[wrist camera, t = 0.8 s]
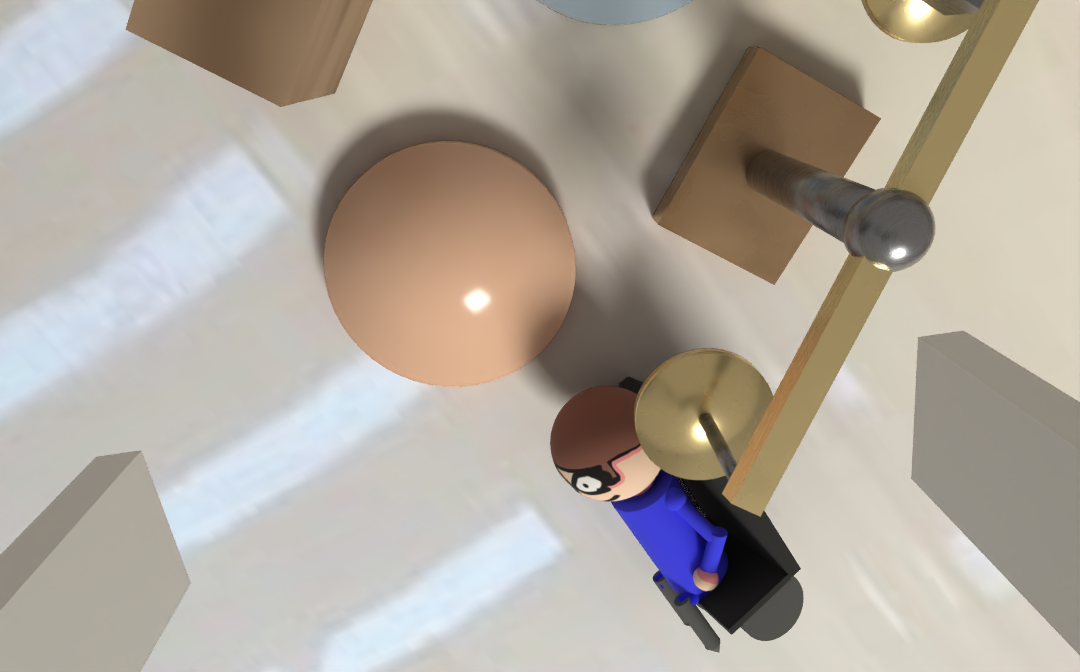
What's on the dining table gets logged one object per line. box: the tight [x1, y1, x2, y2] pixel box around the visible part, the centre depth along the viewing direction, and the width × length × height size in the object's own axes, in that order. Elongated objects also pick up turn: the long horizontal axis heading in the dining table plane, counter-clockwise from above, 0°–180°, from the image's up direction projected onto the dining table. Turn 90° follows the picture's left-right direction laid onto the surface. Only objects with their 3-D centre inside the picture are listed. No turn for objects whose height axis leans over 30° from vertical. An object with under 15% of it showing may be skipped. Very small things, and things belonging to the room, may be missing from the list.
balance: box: [634, 0, 1039, 517], centre depth 27 cm, size 6×22×15 cm, turn 153°
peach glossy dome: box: [324, 141, 576, 387], centre depth 34 cm, size 11×11×1 cm
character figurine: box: [550, 377, 803, 652], centre depth 35 cm, size 8×7×15 cm
